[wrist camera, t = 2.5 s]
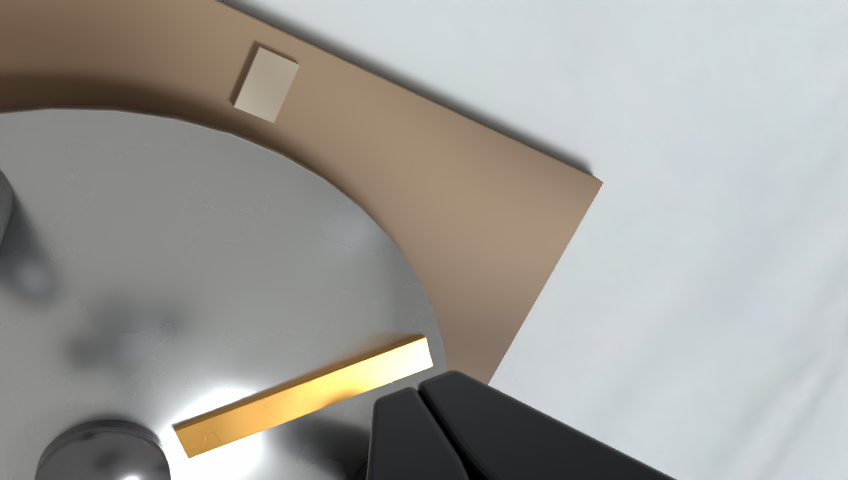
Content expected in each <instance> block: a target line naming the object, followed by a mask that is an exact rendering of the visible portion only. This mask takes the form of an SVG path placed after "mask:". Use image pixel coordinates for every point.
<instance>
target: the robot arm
mask: <svg viewBox="0 0 848 480" xmlns="http://www.w3.org/2000/svg"><path fill="white" fill-rule="evenodd" d="M366 480H676V479H674V478H672V477H670V476H668V475H666V474H664V473H662V472H660V471H658V470H656V469H654V468H652V467H650V466H648V465H646V464H644V463H642V462H640V461H638V460H636V459H634V458H632V457H630V456H628V455H626V454H624V453H622V452H620V451H618V450H616V449H614V448H612V447H610V446H608V445H606V444H604V443H602V442H600V441H598V440H596V439H594V438H592V437H590V436H588V435H586V434H584V433H582V432H580V431H578V430H576V429H574V428H572V427H570V426H568V425H566V424H564V423H562V422H560V421H558V420H556V419H554V418H552V417H550V416H548V415H546V414H544V413H542V412H540V411H538V410H536V409H534V408H532V407H530V406H528V405H526V404H524V403H522V402H520V401H518V400H516V399H514V398H512V397H510V396H508V395H506V394H504V393H502V392H500V391H498V390H496V389H494V388H492V387H490V386H488V385H486V384H484V383H482V382H480V381H478V380H476V379H474V378H472V377H470V376H468V375H466V374H464V373H462V372H460V371H456V370H451V371H447V372H445V373H442V374H440V375H437V376H434V377H432V378H429V379H427V380H424V381H422V382H420V383H419V385H418V387H417V390H416V389H415V388H413V387H406V388H403V389H401V390H398V391H395V392H393V393H390V394H388V395H385V396H382V397H380V398H378V399H377V400H376V401H375V403H374V405H373V413H372V424H371V435H370V446H369V457H368V468H367V479H366Z"/></svg>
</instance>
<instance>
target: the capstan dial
mask: <svg viewBox="0 0 848 480" xmlns="http://www.w3.org/2000/svg"><path fill="white" fill-rule="evenodd" d="M447 371H448V369H447V362H446V356H445V349H444V342H443V339H442V336H441V333H440V330H439V327H438V323H437V320H436V317H435V314H434V311H433V308H432V306H431V304H430V302H429V300H428V298H427V296H426V294H425V292H424V290H423V288H422V286H421V284H420V282H419V280H418V278H417V275H416V274H415V272H414V271H413V269H412V268H411V267H410V265H409V264H408V262H407V261H406V260H405V258H404V257H403V255H402V254H401V253H400V251H399V250H398V248H397V247H396V245H395V244H394V243H393V241H392V240H391V238H390V237H389V236H388V234H387V233H386V232H385V231H384V230H383V229H382V228H381V227H380V226H379V225H378V224H377V223H376V222H375V221H374V220H373V218H372V217H371V216H370V215H369V214H368V213H367V212H366V211H365V210H364V209H363V208H362V207H361V206H360V205H359V204H358V203H357V202H356V201H354V200H353V199H352V198H351V197H349V196H348V195H347V194H345V193H344V192H343V191H342V190H340V189H339V188H338V187H336V186H335V185H334V184H333V183H331V182H330V181H329V180H327V179H326V178H325V177H324V176H322V175H321V174H319V173H317V172H316V171H314V170H312V169H310V168H309V167H307V166H305V165H304V164H302V163H300V162H298V161H297V160H295V159H293V158H291V157H290V156H288V155H286V154H284V153H283V152H281V151H279V150H277V149H275V148H272V147H270V146H267V145H265V144H263V143H260V142H258V141H255V140H253V139H251V138H248V137H246V136H243V135H241V134H238V133H236V132H234V131H231V130H228V129H225V128H221V127H217V126H214V125H210V124H207V123H203V122H199V121H196V120H192V119H188V118H185V117H181V116H177V115H173V114H166V113H159V112H152V111H146V110H139V109H132V108H125V107H119V106H96V105H61V104H50V105H39V106H28V107H16V108H5V109H0V480H366V479H367V468H368V457H369V446H370V435H371V424H372V413H373V405H374V403H375V401H376V400H377V399H378V398H380V397H382V396H385V395H388V394H390V393H393V392H395V391H398V390H401V389H403V388H406V387H413V388H415V389H416V390H417V387H418V385H419V383H420V382H422V381H424V380H427V379H429V378H432V377H434V376H437V375H440V374H442V373H445V372H447Z"/></svg>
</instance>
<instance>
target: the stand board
mask: <svg viewBox="0 0 848 480" xmlns="http://www.w3.org/2000/svg"><path fill="white" fill-rule="evenodd" d="M50 104H61V105H96V106H119V107H125V108H132V109H139V110H146V111H152V112H159V113H166V114H173V115H177V116H181V117H185V118H188V119H192V120H196V121H199V122H203V123H207V124H210V125H214V126H217V127H221V128H225V129H228V130H231V131H234V132H236V133H238V134H241V135H243V136H246V137H248V138H251V139H253V140H255V141H258V142H260V143H263V144H265V145H267V146H270V147H272V148H275V149H277V150H279V151H281V152H283V153H284V154H286V155H288V156H290V157H291V158H293V159H295V160H297V161H298V162H300V163H302V164H304V165H305V166H307V167H309V168H310V169H312V170H314V171H316V172H317V173H319V174H321V175H322V176H324V177H325V178H326V179H327V180H329V181H330V182H331V183H333V184H334V185H335V186H336V187H338V188H339V189H340V190H342V191H343V192H344V193H345V194H347V195H348V196H349V197H351V198H352V199H353V200H354V201H356V202H357V203H358V204H359V205H360V206H361V207H362V208H363V209H364V210H365V211H366V212H367V213H368V214H369V215H370V216H371V217H372V218H373V220H374V221H375V222H376V223H377V224H378V225H379V226H380V227H381V228H382V229H383V230H384V231H385V232H386V233H387V234H388V236H389V237H390V238H391V240H392V241H393V243H394V244H395V245H396V247H397V248H398V250H399V251H400V253H401V254H402V255H403V257H404V258H405V260H406V261H407V262H408V264H409V265H410V267H411V268H412V269H413V271H414V272H415V274H416V275H417V278H418V280H419V282H420V284H421V286H422V288H423V290H424V292H425V294H426V296H427V298H428V300H429V302H430V304H431V306H432V308H433V311H434V314H435V317H436V320H437V323H438V327H439V330H440V333H441V336H442V339H443V342H444V349H445V356H446V362H447V369H448V371H451V370H456V371H460V372H462V373H464V374H466V375H468V376H470V377H472V378H474V379H476V380H478V381H480V382H482V383H484V384H486V385H488V383H489V382H490V380H491V378H492V376H493V375H494V373H495V371H496V369H497V368H498V366H499V364H500V362H501V361H502V359H503V357H504V355H505V354H506V352H507V350H508V348H509V347H510V345H511V343H512V341H513V340H514V338H515V336H516V334H517V333H518V331H519V329H520V327H521V326H522V324H523V322H524V320H525V319H526V317H527V315H528V313H529V312H530V310H531V308H532V306H533V305H534V303H535V301H536V299H537V298H538V296H539V294H540V292H541V291H542V289H543V287H544V285H545V284H546V282H547V280H548V278H549V277H550V275H551V273H552V271H553V270H554V268H555V266H556V264H557V263H558V261H559V259H560V257H561V256H562V254H563V252H564V250H565V249H566V247H567V245H568V243H569V242H570V240H571V238H572V236H573V235H574V233H575V231H576V229H577V228H578V226H579V224H580V222H581V221H582V219H583V217H584V215H585V214H586V212H587V210H588V208H589V207H590V205H591V203H592V201H593V200H594V198H595V196H596V194H597V193H598V191H599V189H600V187H601V186H602V184H603V182H602V181H600V180H599V179H597V178H596V177H594V176H592V175H590V174H588V173H586V172H584V171H581V170H579V169H577V168H575V167H573V166H571V165H569V164H567V163H564V162H562V161H560V160H558V159H556V158H554V157H552V156H549V155H547V154H545V153H543V152H541V151H539V150H537V149H535V148H532V147H530V146H528V145H526V144H524V143H522V142H520V141H517V140H515V139H513V138H511V137H509V136H507V135H505V134H502V133H500V132H498V131H496V130H494V129H492V128H490V127H488V126H485V125H483V124H481V123H479V122H477V121H475V120H473V119H470V118H468V117H466V116H464V115H462V114H460V113H458V112H456V111H453V110H451V109H449V108H447V107H445V106H443V105H441V104H438V103H436V102H434V101H432V100H430V99H428V98H426V97H424V96H421V95H419V94H417V93H415V92H413V91H411V90H409V89H406V88H404V87H402V86H400V85H398V84H396V83H394V82H391V81H389V80H387V79H385V78H383V77H381V76H379V75H377V74H374V73H372V72H370V71H368V70H366V69H364V68H362V67H359V66H357V65H355V64H353V63H351V62H349V61H347V60H345V59H342V58H340V57H338V56H336V55H334V54H332V53H330V52H327V51H325V50H323V49H321V48H319V47H317V46H315V45H312V44H310V43H308V42H306V41H304V40H302V39H300V38H298V37H295V36H293V35H291V34H289V33H287V32H285V31H283V30H280V29H278V28H276V27H274V26H272V25H270V24H268V23H266V22H263V21H261V20H259V19H257V18H255V17H253V16H251V15H248V14H246V13H244V12H242V11H240V10H238V9H236V8H234V7H231V6H229V5H227V4H225V3H223V2H221V1H219V0H0V109H5V108H16V107H28V106H39V105H50Z"/></svg>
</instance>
